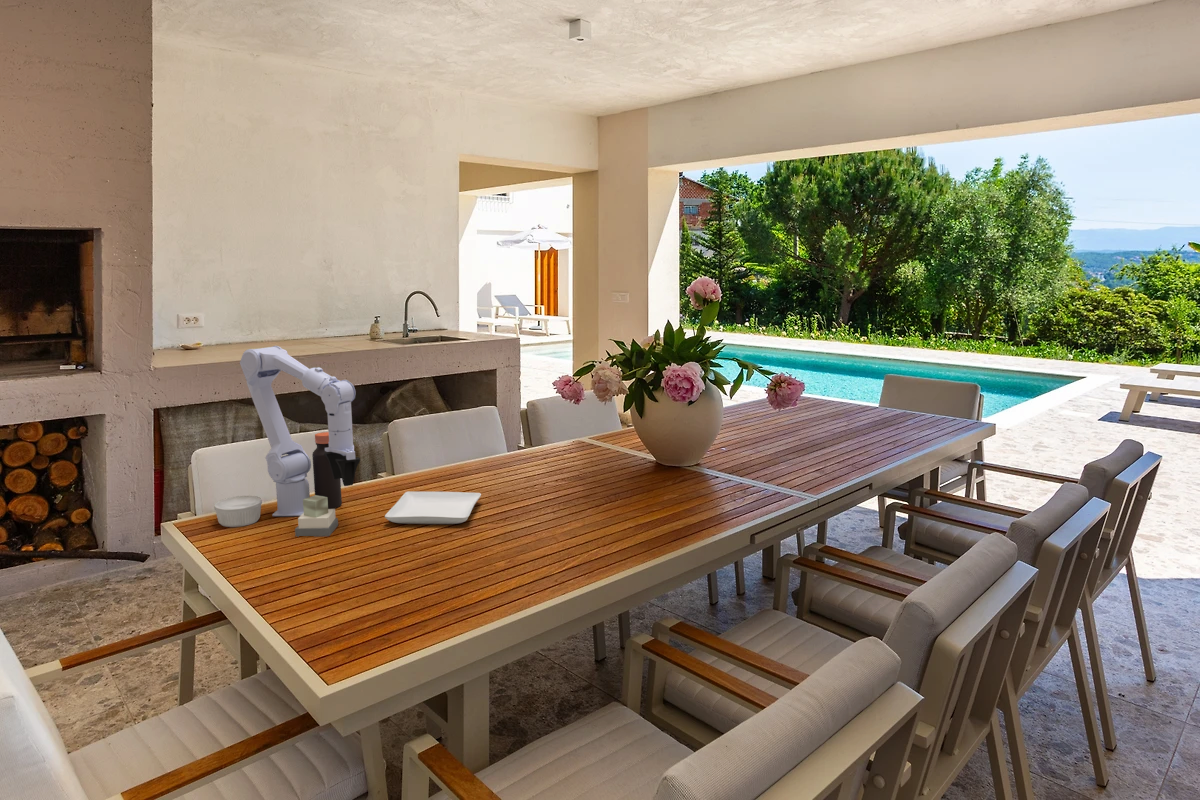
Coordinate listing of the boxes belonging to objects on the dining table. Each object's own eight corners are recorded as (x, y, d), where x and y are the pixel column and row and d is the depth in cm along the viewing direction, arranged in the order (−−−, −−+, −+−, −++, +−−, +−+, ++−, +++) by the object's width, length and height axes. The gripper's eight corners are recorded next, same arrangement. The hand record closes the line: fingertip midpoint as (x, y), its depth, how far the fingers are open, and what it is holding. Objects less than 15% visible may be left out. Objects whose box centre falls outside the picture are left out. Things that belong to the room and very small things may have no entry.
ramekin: (229, 532, 193) (227, 511, 192) (206, 523, 200) (205, 503, 199) (272, 520, 202) (270, 500, 201) (249, 512, 208) (247, 492, 207)
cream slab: (306, 519, 196) (306, 509, 196) (335, 518, 197) (334, 508, 197) (298, 528, 190) (298, 518, 189) (328, 527, 190) (327, 517, 190)
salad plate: (468, 529, 196) (467, 516, 196) (383, 528, 197) (383, 515, 196) (482, 503, 217) (482, 491, 216) (406, 502, 217) (405, 491, 217)
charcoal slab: (305, 527, 197) (305, 518, 197) (338, 527, 198) (337, 517, 197) (295, 539, 190) (294, 529, 189) (329, 538, 190) (328, 528, 190)
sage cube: (316, 510, 195) (315, 495, 194) (328, 512, 193) (327, 497, 193) (303, 515, 192) (302, 499, 191) (316, 517, 190) (315, 501, 189)
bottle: (314, 504, 215) (309, 432, 211) (340, 501, 218) (336, 430, 214) (316, 511, 209) (312, 437, 205) (343, 507, 212) (339, 435, 208)
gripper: (315, 426, 200) (318, 477, 202) (333, 436, 189) (336, 491, 191) (343, 423, 204) (345, 473, 207) (362, 432, 193) (365, 486, 195)
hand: (343, 481), depth 199 cm, fingers open, 7 cm apart
